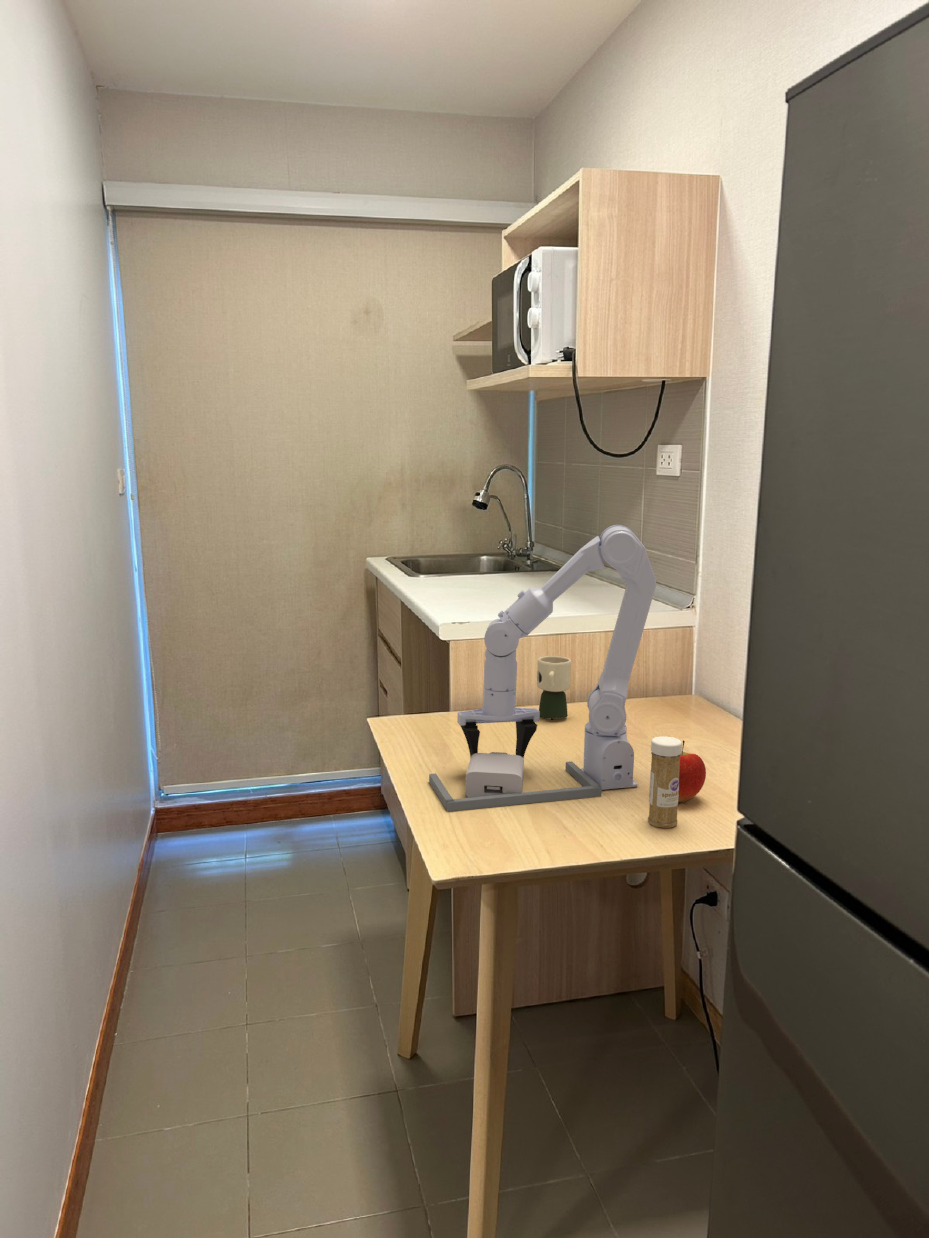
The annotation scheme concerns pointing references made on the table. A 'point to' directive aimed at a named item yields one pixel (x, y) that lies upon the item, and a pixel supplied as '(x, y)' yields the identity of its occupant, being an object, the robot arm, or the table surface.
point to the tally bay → (586, 791)
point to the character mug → (553, 685)
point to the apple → (690, 775)
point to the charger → (494, 774)
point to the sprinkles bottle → (664, 781)
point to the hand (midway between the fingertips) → (496, 761)
